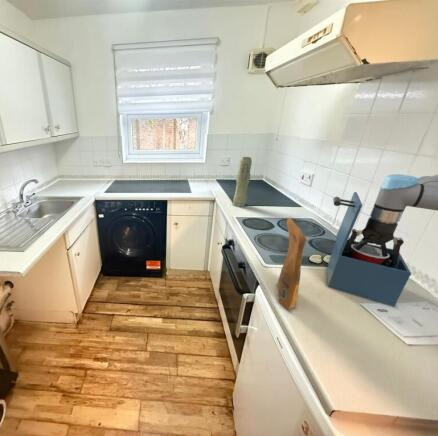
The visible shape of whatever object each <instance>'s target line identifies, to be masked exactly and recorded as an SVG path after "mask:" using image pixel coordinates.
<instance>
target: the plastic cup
mask: <svg viewBox="0 0 438 436" xmlns="http://www.w3.org/2000/svg"><path fill="white" fill-rule="evenodd" d="M355 245H356V244H352V245H351V248H352V250H353V254H352V258H353V259H357V260H361V261H366V262H370V263H374V264H378V265H381V263H382V262H383V261H384V260H385V259H386V258H388V257H389V256H390V255H389V254H388V253H387V255H388V256H387V257H382V252H381V250H380V249H378V248H375V247H371V246H367V245H364V246H363V247H362V248H361V249H360V250H356V249H354V248H353V247H354V246H355Z"/></svg>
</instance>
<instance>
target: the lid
mask: <svg viewBox="0 0 438 436" xmlns="http://www.w3.org/2000/svg"><path fill="white" fill-rule="evenodd" d="M332 200H333V205H334V206H335V207H339V206H345V207H347V209H346V211H345V213H344V216H343V219H342V221H341V223H340V226H339V228H338V231H337V233H336V236H335V237H336V239H337V247H338V255H341V254H342V252H343V249H344V247H345V245H346V242H347V240H348V239H349V238H350V236H351V234H352V230H353V229H354V226H355V224H356V221H357V219H358V217H359V215H360V212H361V210H362V207H363V202H362V201H361V199H360V196H359V194H358V192H356V191H354V192H353V194H352V196H351V199H350V200H348V199H344V198H343V199H342V198H340V197H339V196H334V197H333V199H332Z"/></svg>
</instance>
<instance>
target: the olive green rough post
mask: <svg viewBox="0 0 438 436" xmlns="http://www.w3.org/2000/svg"><path fill="white" fill-rule="evenodd" d="M252 164H253V161H252V157H250V156H242V157H241V159H240V161H239V165H238V172H237V174H236V181H235V182H236V186H235V190H234V191H235V192H234V195H233V203H232V205H233V206H234V207H238V208H244V207H246V203H247V198H248V197H247V194H248V188H249V184H250V180H251V169H252Z"/></svg>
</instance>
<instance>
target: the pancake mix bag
mask: <svg viewBox="0 0 438 436" xmlns="http://www.w3.org/2000/svg"><path fill="white" fill-rule="evenodd" d="M286 225H287V232H288V239H289V240H288V248H287V249H288V250H287V254H286V257H285V259H284V262H283V265H282V267H281V270H280V274H279V277H278V280H277V291H278V299H279V304H280V305H281V306H282V307H283V308H285V310H287V311H289V312H290V311H291V309H293V308H295V306H296V303H297V300H298V295H299V288H300V280H301V270H302V261H303V257H304V256H303V255H304V252H305V247H306V244H307V242H308V240H307V238H306V236H305V234H304V233H303V231H302V230H301V228H300V227H299V226H298V225H297V224H296V223H295V221H294V220H293V218H292V217H291V216H290V217H289V218H287V220H286Z"/></svg>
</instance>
